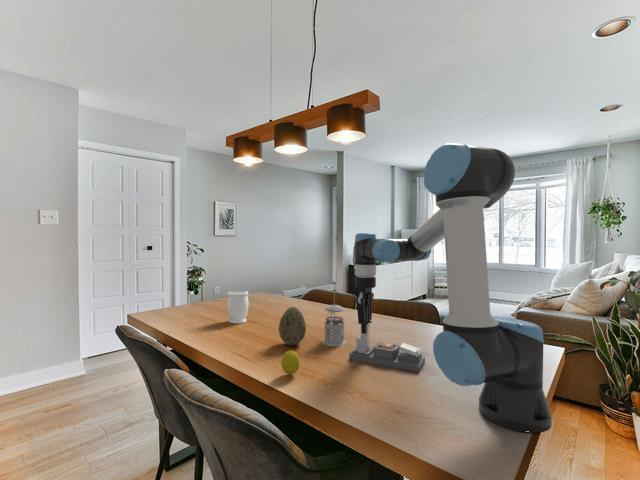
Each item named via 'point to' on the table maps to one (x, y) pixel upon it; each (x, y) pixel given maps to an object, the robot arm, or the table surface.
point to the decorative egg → (292, 326)
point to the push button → (386, 346)
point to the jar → (237, 306)
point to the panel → (390, 358)
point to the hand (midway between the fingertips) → (365, 341)
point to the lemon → (290, 362)
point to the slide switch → (362, 345)
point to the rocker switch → (410, 349)
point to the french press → (334, 325)
